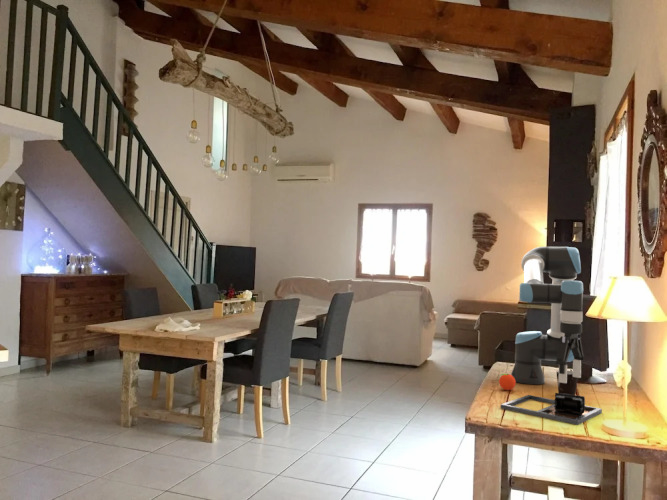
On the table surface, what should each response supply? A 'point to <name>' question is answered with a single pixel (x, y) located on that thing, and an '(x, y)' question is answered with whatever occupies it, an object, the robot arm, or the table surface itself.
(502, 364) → the table surface
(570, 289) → the robot arm
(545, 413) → the divided grey frame
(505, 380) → the clementine
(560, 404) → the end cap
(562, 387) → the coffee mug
